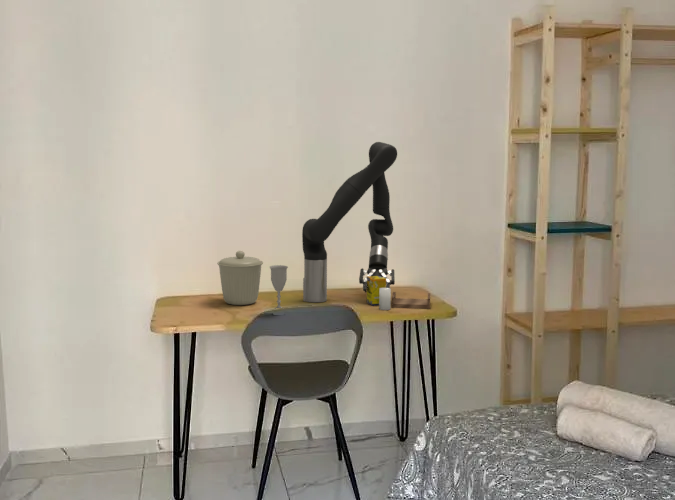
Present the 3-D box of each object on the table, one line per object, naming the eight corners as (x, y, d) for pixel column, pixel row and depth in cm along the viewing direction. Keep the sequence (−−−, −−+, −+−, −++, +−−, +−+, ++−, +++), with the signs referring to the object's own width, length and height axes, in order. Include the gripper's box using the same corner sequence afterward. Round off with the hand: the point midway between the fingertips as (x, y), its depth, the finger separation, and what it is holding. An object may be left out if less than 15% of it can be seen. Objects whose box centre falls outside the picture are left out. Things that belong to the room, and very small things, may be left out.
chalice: (290, 315, 284) (290, 267, 281) (273, 316, 281) (272, 268, 279) (284, 311, 290) (284, 264, 288) (267, 312, 288) (267, 265, 285)
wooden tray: (391, 307, 298) (391, 297, 298) (392, 301, 309) (393, 292, 308) (430, 308, 296) (430, 298, 296) (430, 302, 307) (430, 293, 307)
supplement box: (366, 303, 306) (366, 276, 304) (379, 302, 308) (380, 275, 306) (372, 306, 300) (372, 279, 299) (385, 305, 303) (386, 278, 301)
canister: (260, 297, 315) (260, 247, 312) (265, 306, 298) (265, 253, 295) (216, 298, 312) (215, 248, 309) (219, 308, 294) (218, 254, 291)
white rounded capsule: (378, 309, 294) (379, 289, 293) (379, 307, 298) (379, 287, 297) (390, 310, 294) (390, 289, 292) (390, 307, 298) (391, 287, 297)
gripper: (360, 253, 310) (357, 286, 300) (395, 253, 308) (393, 287, 298) (361, 263, 316) (358, 296, 306) (395, 264, 314) (394, 297, 304)
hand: (376, 291), depth 302 cm, fingers open, 8 cm apart
